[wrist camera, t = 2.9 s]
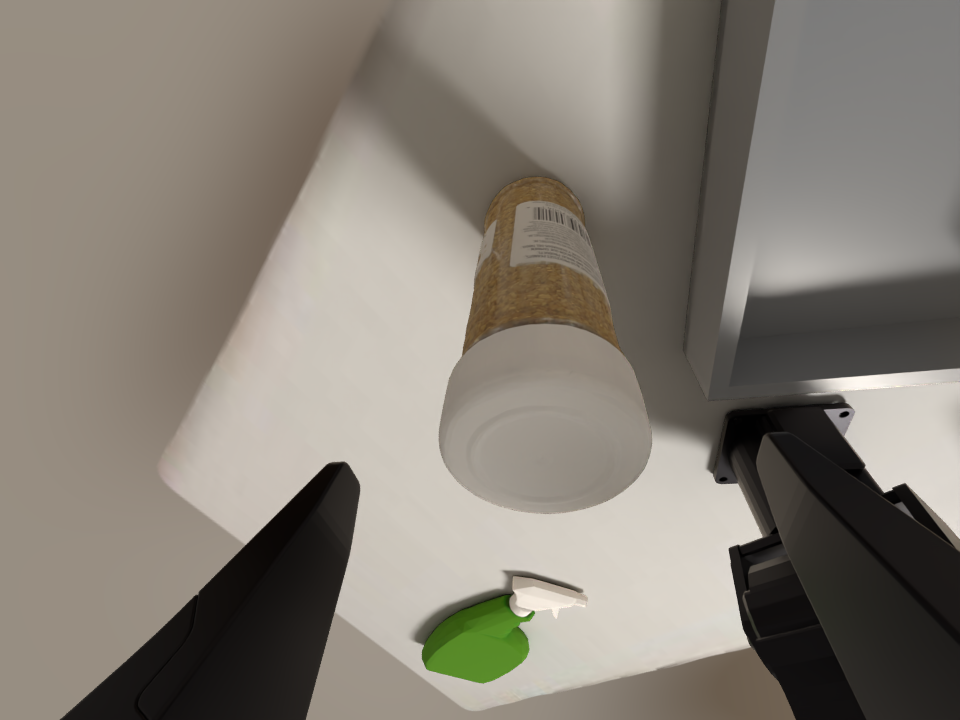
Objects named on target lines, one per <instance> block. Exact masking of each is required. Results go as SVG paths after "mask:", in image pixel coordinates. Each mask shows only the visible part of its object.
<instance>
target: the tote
mask: <svg viewBox="0 0 960 720" xmlns="http://www.w3.org/2000/svg"><path fill="white" fill-rule="evenodd" d="M683 351H684V353H685V355H686V357H687V360H688V362H689V364H690V366H691V368H692V370H693V372H694V374H695V376H696V378H697V380H698V383H699V385H700V387H701V389H702V391H703V393H704V395H705V397H706V399H707V401H715V400H729V399H742V398H756V397H769V396H782V395H796V394H809V393H823V392H836V391H850V390H863V389H876V388H890V387H903V386H917V385H930V384H944V383H957V382H960V0H722V2H721V11H720V20H719V29H718V38H717V47H716V56H715V65H714V74H713V83H712V92H711V101H710V110H709V119H708V128H707V137H706V146H705V155H704V164H703V173H702V182H701V191H700V200H699V209H698V218H697V227H696V236H695V245H694V254H693V263H692V272H691V281H690V290H689V299H688V308H687V317H686V326H685V335H684V344H683Z"/></svg>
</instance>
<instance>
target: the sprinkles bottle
mask: <svg viewBox="0 0 960 720" xmlns="http://www.w3.org/2000/svg"><path fill="white" fill-rule="evenodd" d="M484 233H485V235H484V237H483V241H482V244H481V248H480V253H479V258H478V263H477V268H476V273H475V279H474V292H473V298H472V305H471V309H470V315H469V320H468V324H467V328H466V335H465V342H464V346H463V353H462V357H461V359H460V360H459V361H458V363H457V364H456V366H455V367H454V369H453V371H452V373H451V376H450V378H449V382H448V386H447V390H446V395H445V400H444V405H443V410H442V415H441V421H440V428H439V447H440V451H441V455H442V458H443V461H444V463H445V465H446V467H447V468H448V470H449V471H450V473H451V474H452V475H453V477H454V478H455V479H456V480H457V481H458V482H459V483H460V484H461V485H462V486H463V487H464V488H466V489H467V490H469V491H470V492H471V493H473V494H474V495H476V496H478V497H479V498H481V499H483V500H485V501H488V502H490V503H492V504H495V505H498V506H500V507H504V508H508V509H512V510H516V511H522V512H528V513H541V514H555V513H565V512H572V511H577V510H581V509H585V508H589V507H592V506H595V505H598V504H601V503H603V502H606V501H608V500H610V499H612V498H614V497H615V496H617V495H618V494H620V493H621V492H623V491H624V490H625V489H627V488H628V487H629V486H630V485H631V484H632V483H633V482H634V481H635V480H636V479H637V478H638V477H639V475H640V474H641V473H642V471H643V470H644V468H645V466H646V464H647V462H648V459H649V456H650V452H651V447H652V433H651V427H650V423H649V419H648V415H647V411H646V407H645V403H644V399H643V396H642V393H641V390H640V387H639V384H638V381H637V378H636V375H635V372H634V370H633V368H632V366H631V364H630V363H629V362H628V360H627V359H626V357H625V356H624V354H623V353H622V351H621V350H620V347H619V345H618V341H617V337H616V334H615V331H614V326H613V322H612V312H611V307H610V303H609V300H608V296H607V293H606V290H605V286H604V283H603V280H602V277H601V273H600V270H599V267H598V263H597V260H596V257H595V254H594V251H593V247H592V244H591V241H590V238H589V235H588V233H587V231H586V229H585V219H584V212H583V209H582V207H581V204H580V202H579V200H578V199H577V197H576V196H575V195H574V194H573V193H572V191H571V190H570V189H568V188H567V187H565V186H564V185H563V184H562V183H560V182H558V181H556V180H552V179H549V178H545V177H530V178H523V179H521V180H519V181H515V182H513V183H511V184H509V185H507V186H506V187H504V188H503V189H502V190H501V191H500V192H499V193H498V194H497V196H496V197H495V198H494V199H493V201H492V203H491V205H490V207H489V209H488V212H487V214H486V217H485V223H484Z"/></svg>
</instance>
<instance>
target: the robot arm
mask: <svg viewBox="0 0 960 720" xmlns="http://www.w3.org/2000/svg"><path fill="white" fill-rule="evenodd" d="M854 413H855V411H854V410H853V408H852V407H851V406H850V405H849V404H847V403H838V404H823V405H809V406H795V407H780V408H766V409H752V410H737V411H732V412H730V413H728V414H727V415H726V417H725V421H724V426H723V430H722V435H721V440H720V445H719V449H718V454H717V459H716V464H715V468H714V473H713V477H714V479H715V481H716V482H717V483H719V484H734V483H738V484H739V486H740V488H741V490H742V492H743V494H744V497H745V499H746V501H747V503H748V505H749V507H750V510H751V512H752V514H753V516H754V518H755V521H756V523H757V525H758V527H759V529H760V531H761V534H762V536H763V538H760V539H757V540H755V541H752V542H749V543H746V544H744V545H741V546H740V545H736V546H733V547H730V548H729V554H730V560H731V569H732V574H733V579H734V585H735V590H736V595H737V600H738V605H739V611H740V616H741V621H742V626H743V630H744V632H745V634H746V636H747V639H748V642H749V644H750V646H751V647H752V648H753V649H754V650H755V651H756V652H757V654H758V656H759V657H760V659H761V660H762V662H763V663H764V665H765V666H766V668H767V669H768V670H769V671H770V673H771V674H772V675H773V676H774V677H775V678H776V679H777V680H778V681H779V683H780V685H781V687H782V689H783V691H784V693H785V695H786V697H787V700H788V702H789V704H790V706H791V709H792V711H793V714H794V716H795V718H796V720H960V539H959V538H958V537H957V536H956V535H955V533H954V532H953V531H952V530H951V529H950V528H949V527H948V525H947V524H946V523H945V522H944V521H943V520H942V519H941V518H940V517H939V516H938V515H937V514H936V513H935V512H934V511H933V510H932V509H931V508H930V507H929V506H928V505H927V504H926V503H925V502H924V501H923V500H922V499H921V498H920V497H919V496H918V495H917V494H916V493H915V492H914V491H913V490H912V489H911V488H910V487H909V486H908V485H907V484H906V483H904V484H901V485H898V486H895V487H893V488H892V489H893V490H891V491H888V492H886V493H884V492H883V491H882V489H881V488H880V487H879V485H878V484H877V483H876V482H875V480H874V479H873V478H872V476H871V475H870V474H869V472H868V471H867V470H866V468H865V463H864V462H863V461H862V459H861V458H860V457H859V455H858V454H857V453H856V452H855V450H854V449H853V448H852V446H851V445H850V444H849V442H848V441H847V440H846V439H845V437H844V435H845V433H846V431H847V429H848V427H849V424H850V422H851V420H852V418H853V416H854ZM734 419H735V420H734ZM359 496H360V484H359V481H358V479H357V478H356V476H355V474H354V473H353V471H352V469H351V468H350V466H349V465H348V463H346V462H331V463H329V464H327V465H326V466H325V467H324V468H323V469H322V470H321V471H320V472H319V473H318V474H317V475H316V476H315V477H314V478H313V479H312V480H311V481H310V482H309V483H308V484H307V485H306V486H305V487H304V488H303V489H302V490H301V491H300V492H299V493H298V494H297V495H296V496H295V497H294V498H293V499H292V500H291V501H290V502H289V503H288V504H287V505H286V506H285V507H284V508H283V509H282V510H281V511H280V512H279V513H278V514H277V515H276V516H275V517H274V518H273V519H272V520H271V521H270V522H269V523H268V524H266V525H265V526H264V527H263V528H262V529H261V530H260V531H259V532H258V533H257V534H256V535H255V536H254V537H253V538H252V539H251V540H250V541H249V542H248V543H247V544H246V545H245V546H244V547H243V548H242V549H241V550H240V551H239V552H238V554H236V555H235V556H234V557H233V558H232V559H231V560H230V561H229V562H228V563H227V564H226V566H224V567H223V568H222V569H221V570H220V571H219V572H218V573H217V574H216V575H215V576H214V577H213V578H212V579H211V580H210V582H208V583H207V584H206V585H205V586H204V588H202V589H201V590H200V591H199V594H198V595H195V596H194V597H193V598H192V599H191V600H190V601H189V602H188V603H187V604H186V605H185V606H184V607H183V608H182V609H181V610H180V611H179V612H178V613H177V614H176V615H175V616H174V617H173V618H172V619H171V620H170V621H169V622H168V623H167V624H166V625H165V626H163V628H161V629H160V630H159V631H158V632H157V633H156V634H155V635H154V636H153V637H152V638H151V639H150V640H149V641H147V642H146V643H145V644H144V645H143V646H142V647H141V648H140V649H139V650H138V651H137V652H135V653H134V654H133V655H132V656H131V657H130V658H129V659H128V660H127V661H126V662H125V663H123V664H122V665H121V666H120V667H119V668H118V669H117V670H115V671H114V672H113V673H112V674H111V675H110V676H109V677H108V678H106V679H105V680H104V681H103V682H102V683H101V684H100V685H99V686H97V688H95V689H94V690H93V691H92V692H91V693H90V694H88V695H87V696H86V697H85V698H84V699H83V700H82V701H81V702H79V703H78V704H77V705H76V706H75V707H74V708H73V709H72V710H70V711H69V712H68V713H67V714H66V715H65V716H64V717H63V718H61V719H60V720H306V716H307V712H308V709H309V705H310V702H311V698H312V694H313V690H314V687H315V682H316V679H317V675H318V672H319V668H320V664H321V661H322V657H323V653H324V649H325V646H326V642H327V637H328V634H329V631H330V627H331V623H332V619H333V616H334V612H335V608H336V604H337V601H338V597H339V593H340V590H341V586H342V582H343V578H344V575H345V571H346V567H347V563H348V559H349V555H350V550H351V545H352V539H353V533H354V527H355V521H356V514H357V508H358V502H359Z"/></svg>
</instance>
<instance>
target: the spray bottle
mask: <svg viewBox="0 0 960 720" xmlns="http://www.w3.org/2000/svg"><path fill="white" fill-rule="evenodd" d="M512 590H513V591H514V594H513V595H504V596H501V597H498V598H495V599H492V600H489V601H486V602H483V603H480V604H477V605H475V606H473V607H470V608H466V609H463V610H461V611H459V612H457V613H456V614H454V615H452V616H450V617H449V618H447V619H446V620H445V621H444V622H442V623H441V624H440V625H439V626H438V627H437V628H436V629H435V630H434V632H433V633H432V634H431V635H430V636H429V638H428V639H427V641H426V643H425V645H424V647H423V650H422V660H423V662H424V665H425V667H426V669H427V670H429V671H433V672H437V673H441V674H445V675H449V676H453V677H457V678H461V679H465V680H469V681H473V682H478V683H486V682H490V681H493V680H495V679H497V678H499V677H501V676H503V675H505V674H506V673H508V672H510V671H511V670H513V669H514V668H515V667H517V666H518V665H519V664H521V663H522V662H523V661H524V660H525V659H526V657H527V655H528V652H529V643H528V638H527V637H526V635H525V634H524V632H523V631H522V630H521V629H520V628H518V627H517V626H519V625H520V622H527V621H530V620H531V619H532V617H533V616H534V614H535V612H534V611H540V610H546V609H552V612H553V615H554V617H555V618H558V612H559V609H560V608H569V607H571V606H572V605H577V606H582V607H586V606H587V602H588V599H587V596H586V595H583V594H580V593H577V592H576V591H573V590H570V589H567V588H563V587H560V586H557V585H553V584H550V583H546V582H543V581H539V580H536V579H532V578H525V577H517V576H513V584H512Z"/></svg>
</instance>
